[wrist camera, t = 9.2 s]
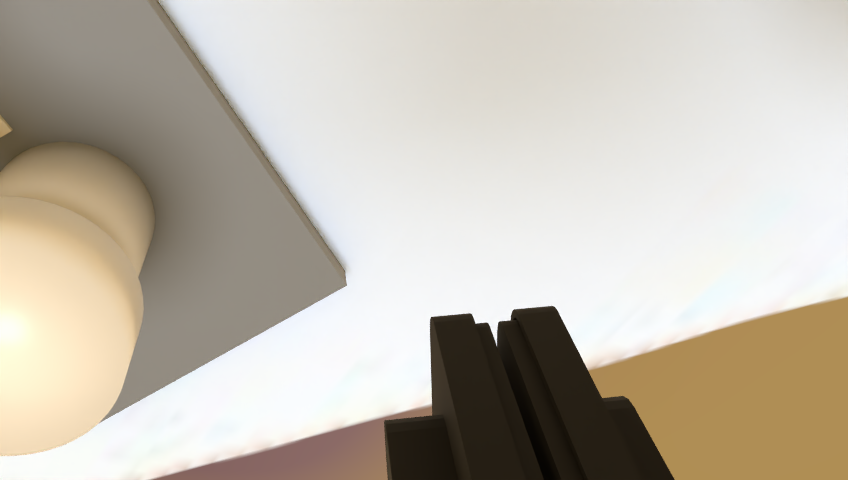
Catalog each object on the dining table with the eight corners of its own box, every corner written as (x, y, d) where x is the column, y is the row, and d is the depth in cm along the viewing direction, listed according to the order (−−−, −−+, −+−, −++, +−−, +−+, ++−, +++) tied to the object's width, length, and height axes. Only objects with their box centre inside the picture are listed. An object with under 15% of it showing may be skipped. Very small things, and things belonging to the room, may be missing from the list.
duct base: (93, -92, 32) (28, -73, 24) (344, 271, 41) (358, 372, 33) (-240, 116, 34) (-405, 199, 26) (74, 422, 43) (25, 553, 35)
